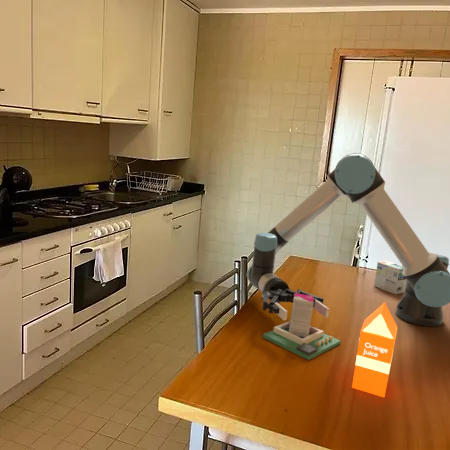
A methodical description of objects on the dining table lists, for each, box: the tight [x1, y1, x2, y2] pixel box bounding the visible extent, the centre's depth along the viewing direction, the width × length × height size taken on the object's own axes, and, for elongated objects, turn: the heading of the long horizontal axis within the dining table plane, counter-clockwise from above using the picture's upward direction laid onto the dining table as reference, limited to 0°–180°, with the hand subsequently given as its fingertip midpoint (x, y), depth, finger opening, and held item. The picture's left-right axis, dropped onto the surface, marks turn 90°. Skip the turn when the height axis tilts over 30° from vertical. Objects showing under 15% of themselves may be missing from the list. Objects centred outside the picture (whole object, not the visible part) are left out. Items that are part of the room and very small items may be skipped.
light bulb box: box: [373, 260, 407, 295], centre depth 180 cm, size 11×7×11 cm, turn 34°
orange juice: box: [351, 301, 398, 398], centre depth 106 cm, size 8×9×20 cm
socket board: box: [262, 320, 342, 361], centre depth 128 cm, size 16×16×2 cm
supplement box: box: [289, 293, 314, 338], centre depth 129 cm, size 6×6×12 cm
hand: (307, 314), depth 126 cm, fingers open, 13 cm apart
